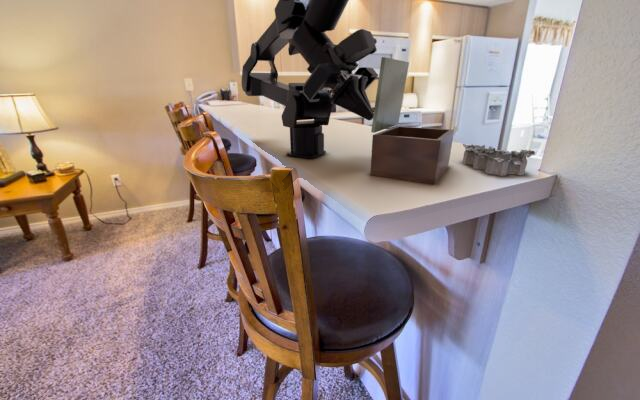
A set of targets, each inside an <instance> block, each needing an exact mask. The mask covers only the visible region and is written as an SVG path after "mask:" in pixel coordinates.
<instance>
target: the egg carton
mask: <svg viewBox="0 0 640 400" xmlns="http://www.w3.org/2000/svg"><path fill="white" fill-rule="evenodd" d="M462 146H463V147H464V149H465V150H463V151H464V152H463V156H462V161H461V162H462V164H463V165H469V166H470V165H471V166H472V168H473V169H475V170H484V171H485V172H484V173H485V174H487V175H492V176H493V175H494V176H499V177H503V176H504V177H505V176H507V174H508V175H509V174H510V175H517V176H524V175H525V172H526V167H527V165H528V158H530V157H532V156H534V155H535V154H536V153H535V150H531V149H521V150H520V151H517V150H511V151H509V150H502V149H497V150H496V147H492V146H489V147H488V148H486V145H485V144H482V145H477V144H476V145H474V144H465V143H462Z"/></svg>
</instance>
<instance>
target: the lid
mask: <svg viewBox="0 0 640 400" xmlns="http://www.w3.org/2000/svg"><path fill="white" fill-rule="evenodd" d="M380 59H381V60H380V65H379V66H380V67H379V72H378V73H379V74H378V81H377V88H376V94H375V102H374V110H373V113H374V116H373V119H372V123H371V130H370V132H371V133H374V134H376V133H379V132H382V131H384V130H387V129H390V128H393V127H396V126H398V125H399V122H400V117H401V111H402V105H403V100H404V93H405V89H406V83H407V76H408V71H409V65H410V62H409V61H405V60H400V59H395V58H390V57H385V56H382V57H381V58H380Z"/></svg>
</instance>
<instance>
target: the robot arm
mask: <svg viewBox="0 0 640 400" xmlns="http://www.w3.org/2000/svg"><path fill="white" fill-rule="evenodd" d="M349 1H350V0H278V2H277V3H276V5H275V7H274V16H275V18H274V20H273V21H272V22H271V23H270V25H269V26H268V27H267V28H266V30H264V32H263V33H262V35H260V37H259V38H258V40H256V41H255V42H252V43H251V46H250V52H249V53H250V55H249V56H248V58H247V59H246V61H245V62H244V63H243V65H242V68H241V69H242V70H241V71H242V72H241V89H242V92H244V93H245V95H246V96H247V97H263V98H266V99H269V100H270V101H272V102H275V103H277V104H280V105H282V106H284V109H283V111H282V114H281V121H282V126H283V127H284V128H285V127H286V128H289V143H290V145H289V146H290V151H288V152H285V153H286V154H285V155H286V156H288V157H295V158H301V159H302V158H303V159H309V160H310V159H314V158H317V157H319V156H322V155H325V154H326V153H327V150H325V134H324V133H323V126H329V123H330V120H331V119H330V118H331V114H332V109H333V104H334V105H336V106H338V107H340V108H342V109H345V110H347V111H349V112H351V113H352V114H355V115H356V116H359V117H360V118H363V119H365V120H367V121H373V116H374V110H373V107H372V105H371V103H370V100H369V98H368V94H367V92H366V91H367V89H368V88H369V87H370V86H371V85H372V84H373V83H374V81H375V80H376V79H377V78H379V74H378V73H377V71H376V70H375V69H374V68H373V67H364V66H363V67H362V66H361V67H359V64H358V62H359V61H361V60H363V59H364V58H366V57H367V56H369V55H374V53H376V52H377V51H378V49H377V46H376V45H377V42H378V41H377V38H375V37H374V35H373V33H372V31H370V30H367V29H364V28H361V29H357V30H356V31H354V32H352V33H351V34H350V35H348V36H347V37H345V38H344V39H342V40H341V41H340V42H338V44H336V43H335V44H334V42H333V41H332V40H331V38H330V37H329V36H328V35H327V34H326V32H331V31H334V30H335V29H336V27H337V25H338V23H339V21H340V19H341V17H342V15H343V13H344V11H345V9H346V8H347V5H348V3H349ZM287 45H288V49H287V51H288V56H295V55H300V56H301V57H302V58H303V59H304V61H305V62H306V64H307V65H308V67H307V68H306V70H307V71H308V73H309V74H310V75H309V76H308V78H307V80H306V81H305V82H288V84H286V83H283V82H280V81H278V79H279V72H278V69H277V68H276V65H275V59H276V56H277V55H278V53H280V52H281V51H282V50H283V49H284V48H285V47H286V46H287ZM259 61H260V62H268V64H269V66H270V72H252V71H253V70H254V68H255V67H256V66H257V65H258V62H259ZM357 68H358V69H357ZM356 69H357V70H356ZM354 71H355V72H354ZM353 72H354V73H353ZM329 91H331V94H332V96H330V92H329Z"/></svg>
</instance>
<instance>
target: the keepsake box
mask: <svg viewBox="0 0 640 400" xmlns="http://www.w3.org/2000/svg"><path fill="white" fill-rule="evenodd" d="M454 133H455V129H450V128H449V129H448V128H433V127H421V126H420V127H419V126H418V127H417V126H403V125H395V126H392V127H389V128H387V129H384V130H381V131H378V132H376V133H374V134H372V142H371V156H370V157H371V158H370V174H369V175H370V176H376V177H383V178H389V179H395V180H401V181H402V180H403V181H409V182H415V183H420V184H428V185H435V184H436V183H437V182H438V181H439V179H440V178H441V177H442V176H443V174H444V173H445V171H446V170H447V169H448V167H449V166H450V165H449V164H450V159H451V151H452V144H453V141H454V140H453V139H454V135H455V134H454Z"/></svg>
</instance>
